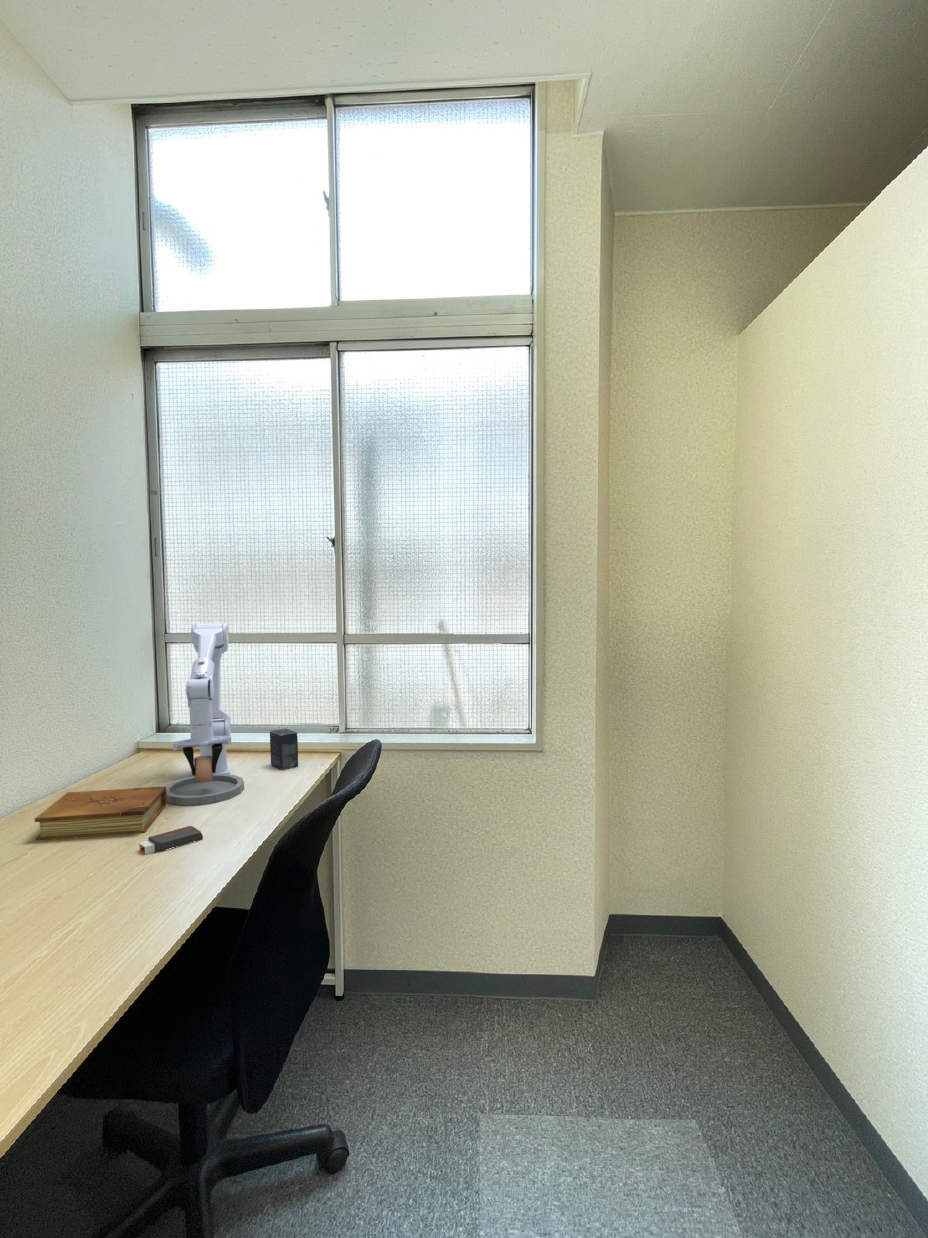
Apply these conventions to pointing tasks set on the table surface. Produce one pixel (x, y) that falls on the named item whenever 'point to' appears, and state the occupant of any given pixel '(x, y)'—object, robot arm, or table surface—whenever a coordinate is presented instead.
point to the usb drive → (170, 839)
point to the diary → (102, 813)
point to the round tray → (204, 790)
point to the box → (284, 748)
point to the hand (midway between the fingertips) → (203, 773)
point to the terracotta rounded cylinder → (203, 768)
